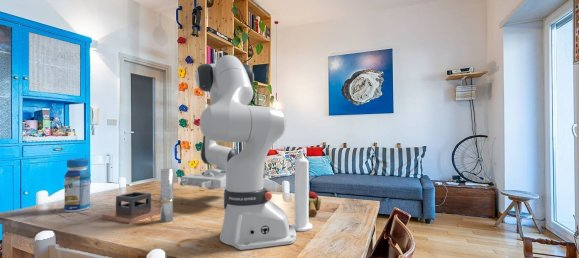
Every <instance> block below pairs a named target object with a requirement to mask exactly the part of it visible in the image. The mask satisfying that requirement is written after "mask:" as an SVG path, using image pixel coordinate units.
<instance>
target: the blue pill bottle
mask: <svg viewBox="0 0 579 258" xmlns="http://www.w3.org/2000/svg"><path fill="white" fill-rule="evenodd" d="M88 167H89V158H70V159H67V160H66V168H67V169H68V170H67V171H66V172H65V174H64V182H63V187H64V202H63V203H64V206H63V211H64V212H66V213H77V212H82V211H86V210H89V209H90V208H91V200H90V199H91V195H90V194H91V183H92V180H91V179H90V178H91V176H92V175H91V172H90V171H89V169H88Z"/></svg>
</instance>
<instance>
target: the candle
mask: <svg viewBox="0 0 579 258" xmlns="http://www.w3.org/2000/svg"><path fill="white" fill-rule="evenodd" d="M299 154H300V155H299V157H298V158H296V159H295V160H294V222H292V223H291V224H290V225H291V226H292V227H293V228H294V229H295V231H296V232H297V231H298V232H307V231H311V230H312V229H313V223H310V222H309V216H310V215H309V192H310V191H309V185H310V184H309V175H310V174H309V168H310V167H309V166H310V165H309V160H308V158H306V157H305V156H304V151H303V150H301V151H300V153H299Z"/></svg>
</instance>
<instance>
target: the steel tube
mask: <svg viewBox="0 0 579 258" xmlns="http://www.w3.org/2000/svg"><path fill="white" fill-rule="evenodd" d="M174 201H175V200H174V168H173V167H172V168H171V167H168V168H166V167H165V168H161V169H160V200H159V203H160V208H161V212H160V213H159V214H160V215H159V216H160V217H159V218H160V219H159V220H160V221H159V222H161V223H170V222H172V221H174Z"/></svg>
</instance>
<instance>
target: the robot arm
mask: <svg viewBox="0 0 579 258" xmlns="http://www.w3.org/2000/svg"><path fill="white" fill-rule="evenodd" d="M194 78H195V81H196V84H197V86H198V88H199V90H200V91H202V92H207V93H209V92H210V93H209V94H210V99H209V101H210V105H208V106H206V108H205V109H204V110H203V111H202V113H201V115H200V119H199V128H200V131H201V133H202V135H203V137H202V147H201V150H200V158H201V161H202V163H204V164H206V165H210V166H216V167H214V168H208V169H206V170H205V171H204V172H203V174H187V175H182V176H181V177H180V182H179V186H180V187H181V186H191V187H199V188H202V189H203V188H206V189H208V190H214V189H216V190H217V189H224V191H223V192H224V193H223V209H224V215H223V220H222V221H223V222H222V227H221V228H222V229H221V232H220V235H219V240H220V242H221V243H224V244H225V245H229V246H232V247H234V248H236V249H238V250H241V251H244V250H251V249H252V250H253V249H261V248H268V247H269V248H270V247H275V246H284V245H285V246H286V245H292V244H294V243H295V242H296V240H297V231H296V230H295V229H294V228H293V227H292V226H291V224H289V219H288V216H287V214H286V212H285V211H284V210H283V209H282V208H281V207H279V206H278V205H276V204H275V203H274V202H272V201H271V200H272V197H273V196H272V195H273V194H272V192H271V191H270V190H269V189H268V188H266V187H264V173H265V164H266V163H265V162H266V159H267V155H268V153H269V152H270V150H271V148H272V146H273V145H275V143H276V142H277V141H278V140H280V138H281V137H283V135H284V133H285V130H286V126H287V125H286V123H287V122H286V118H285V116H284V114H283V112H282V111H281V110H279V109H276V108H273V107H271V106H270V107H269V106H265V105H249V104H250V103H251V101H252V100H253V99H254V90H253V85H254V79H255V75H254V72H253V69H252V67H251V65H249V64H247V63H242V62H241V61H240V59H239V58H238V57H237V56H235V55H232V54H226V55H223V56H220V57H219V58H218V60H217V61H216V62H215V63H210V64H209V63H203V64H200V65H199V66H197V68H196V72H195V76H194ZM216 142H221V143H244V146H243V149H242V150H241V151H240V152H239V151H238V150H237V149H236V148H234V147H233V148H232V147H228V146H224V145H219V144H217V143H216Z"/></svg>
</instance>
